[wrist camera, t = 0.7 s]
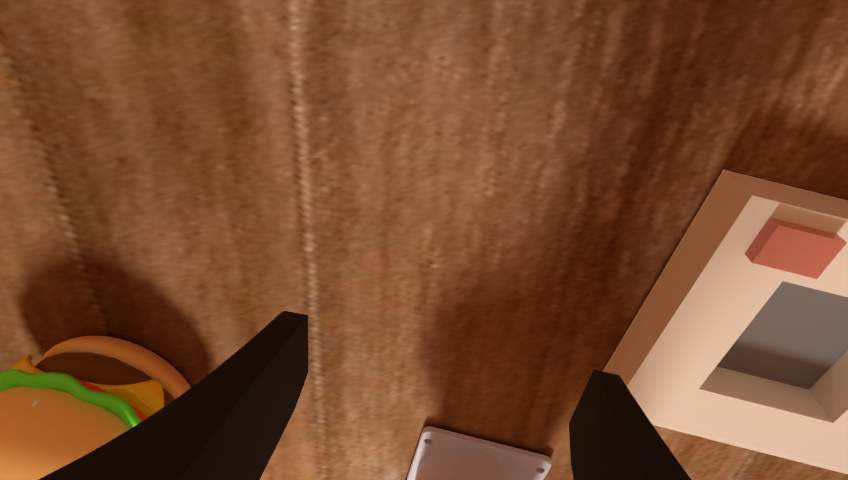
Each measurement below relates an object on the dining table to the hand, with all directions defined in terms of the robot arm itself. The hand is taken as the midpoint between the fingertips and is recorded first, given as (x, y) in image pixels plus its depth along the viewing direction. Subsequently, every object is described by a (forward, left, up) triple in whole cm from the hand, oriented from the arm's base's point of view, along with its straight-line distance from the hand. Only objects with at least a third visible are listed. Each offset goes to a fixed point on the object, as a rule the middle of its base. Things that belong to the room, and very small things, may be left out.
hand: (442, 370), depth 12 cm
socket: (-2, -15, -10) cm, 18 cm away
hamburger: (-19, +18, -10) cm, 28 cm away
